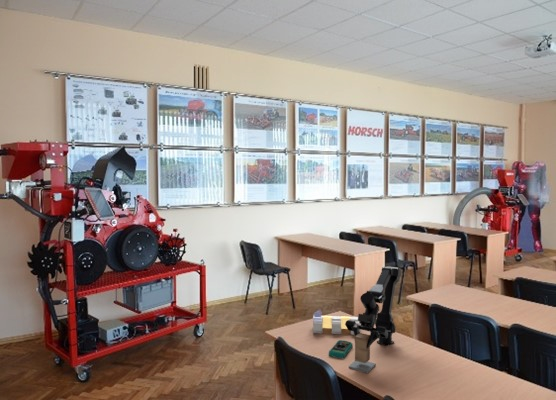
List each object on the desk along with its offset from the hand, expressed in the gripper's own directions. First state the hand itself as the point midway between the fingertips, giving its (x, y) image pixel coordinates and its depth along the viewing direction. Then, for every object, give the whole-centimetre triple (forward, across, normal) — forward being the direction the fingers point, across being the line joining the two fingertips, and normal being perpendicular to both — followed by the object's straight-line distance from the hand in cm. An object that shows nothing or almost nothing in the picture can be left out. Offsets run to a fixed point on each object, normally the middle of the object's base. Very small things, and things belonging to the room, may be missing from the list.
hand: (361, 346), depth 186 cm
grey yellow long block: (-16, -28, +31) cm, 45 cm away
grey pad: (+6, 0, +8) cm, 10 cm away
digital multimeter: (0, -15, +15) cm, 21 cm away
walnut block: (+4, 0, +6) cm, 7 cm away
